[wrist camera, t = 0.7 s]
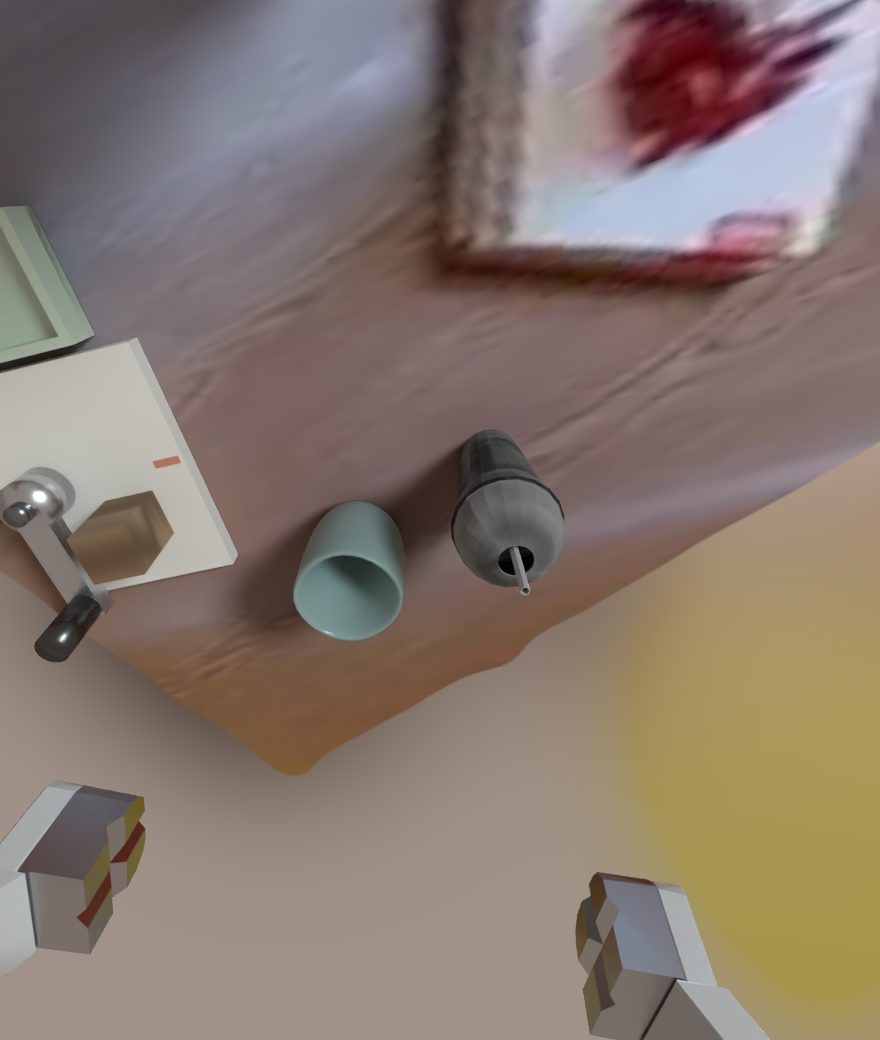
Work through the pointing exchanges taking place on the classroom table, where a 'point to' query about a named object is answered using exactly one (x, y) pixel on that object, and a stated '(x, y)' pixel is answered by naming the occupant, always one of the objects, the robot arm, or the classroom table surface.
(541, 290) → the classroom table surface
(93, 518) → the block
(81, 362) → the crank plate
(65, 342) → the tray
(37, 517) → the crank
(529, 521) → the beverage cup
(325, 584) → the cup
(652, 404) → the classroom table surface
